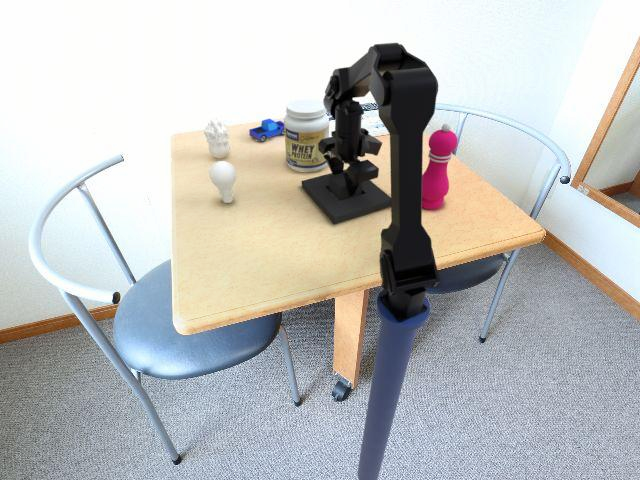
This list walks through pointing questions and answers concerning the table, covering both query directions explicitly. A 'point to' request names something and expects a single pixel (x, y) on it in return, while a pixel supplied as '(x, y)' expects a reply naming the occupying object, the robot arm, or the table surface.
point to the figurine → (217, 138)
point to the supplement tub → (305, 134)
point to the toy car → (267, 130)
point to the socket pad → (347, 208)
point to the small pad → (341, 187)
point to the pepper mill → (438, 168)
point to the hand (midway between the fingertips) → (345, 189)
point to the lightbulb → (223, 179)
